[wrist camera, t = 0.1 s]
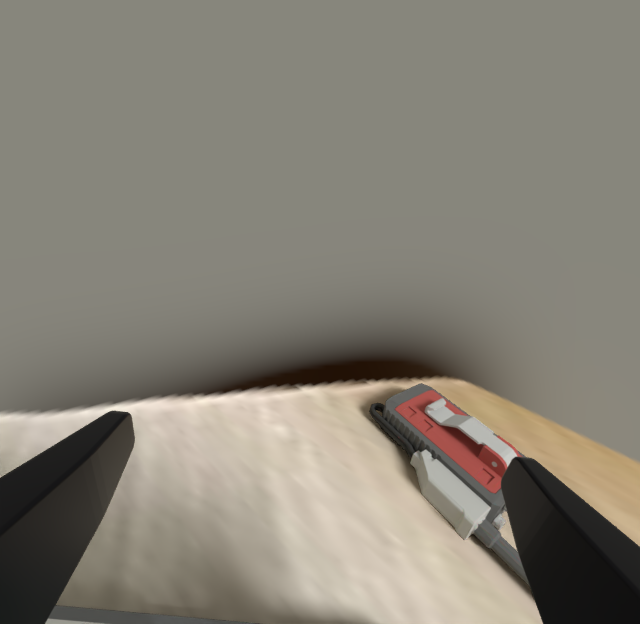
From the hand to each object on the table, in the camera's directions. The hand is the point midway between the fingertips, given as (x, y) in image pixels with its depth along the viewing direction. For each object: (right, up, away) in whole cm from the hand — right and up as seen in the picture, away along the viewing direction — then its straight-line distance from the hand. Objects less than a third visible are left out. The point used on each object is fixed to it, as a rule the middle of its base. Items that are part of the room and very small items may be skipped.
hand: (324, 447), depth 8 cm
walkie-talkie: (+12, -11, +20) cm, 26 cm away
